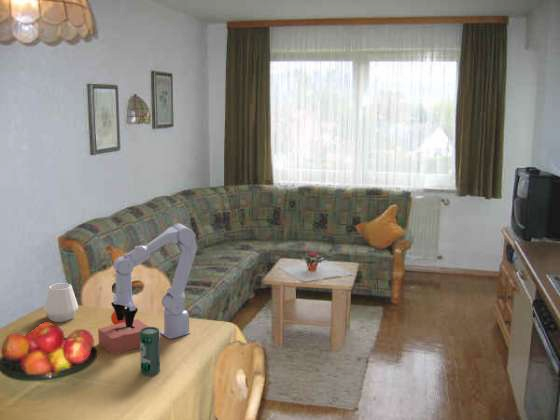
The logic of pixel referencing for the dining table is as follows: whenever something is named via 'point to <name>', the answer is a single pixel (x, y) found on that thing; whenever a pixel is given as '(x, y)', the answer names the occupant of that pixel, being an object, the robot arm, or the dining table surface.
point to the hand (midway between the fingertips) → (124, 323)
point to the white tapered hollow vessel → (60, 302)
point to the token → (123, 329)
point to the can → (150, 351)
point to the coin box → (120, 337)
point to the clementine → (114, 319)
